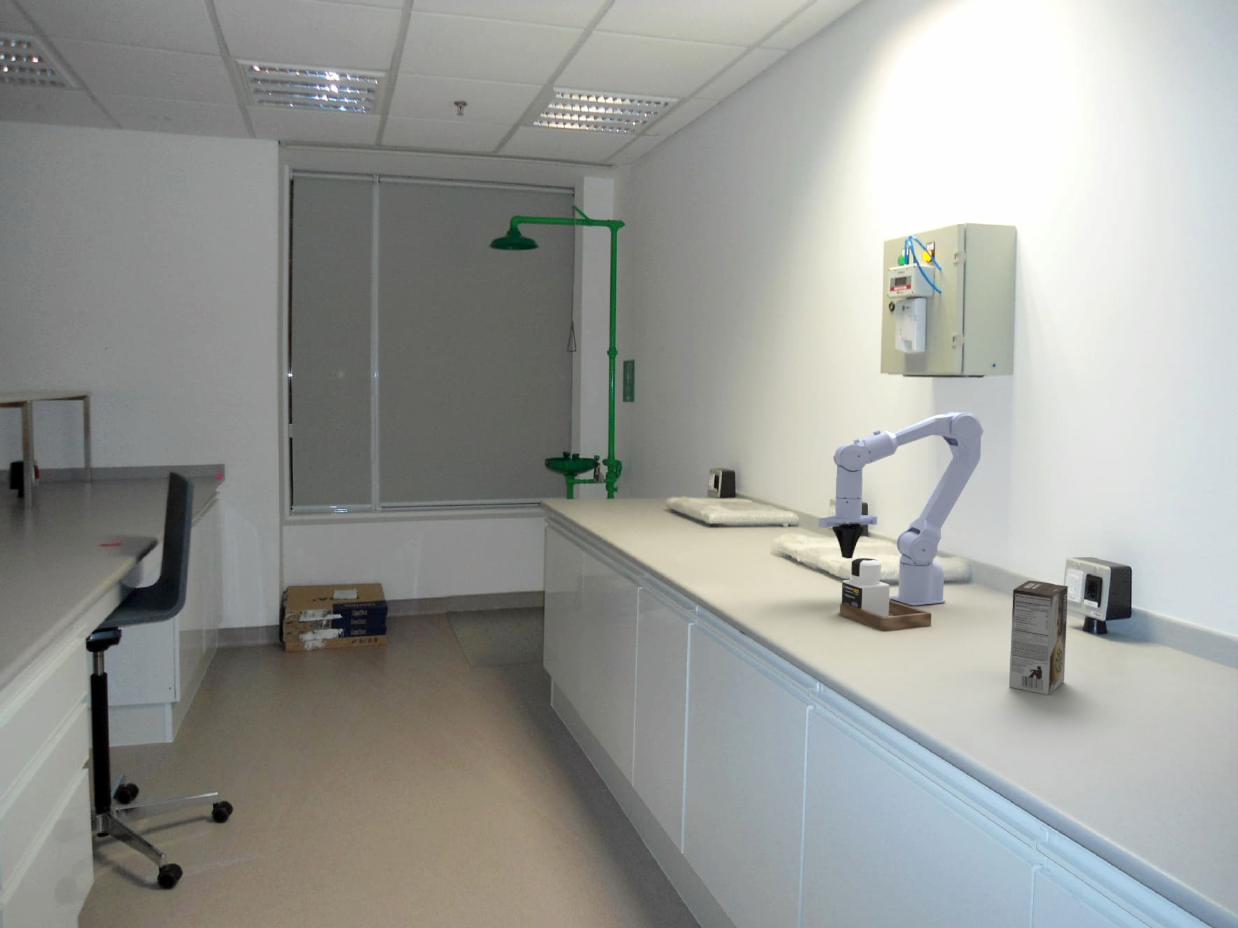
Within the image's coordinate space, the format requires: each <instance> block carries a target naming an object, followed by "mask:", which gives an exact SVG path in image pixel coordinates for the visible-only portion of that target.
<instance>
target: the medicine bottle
mask: <svg viewBox="0 0 1238 928" xmlns="http://www.w3.org/2000/svg"><path fill="white" fill-rule="evenodd" d="M850 568H851V570H850V571H851V572H850V574H851V575H850V578H851V579H844V580H842V581H841V583H842V584H841V603H845V604H848V605H851V606H854V607H857V608H860V609H863V610H866V611H869V612H872V613H874V614H877V615H880V616H883V617H889V616H890V615H889V614H890V613H889V600H890V589H891V587H890V584H888V583H885V582H883V581H880V580H881V579H882V576H881V575H882V563H881V561H879V560H877V559H875V558H866V557H859V558H856V559H853V560H852V561H851V567H850Z"/></svg>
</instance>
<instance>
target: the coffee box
mask: <svg viewBox="0 0 1238 928" xmlns="http://www.w3.org/2000/svg"><path fill="white" fill-rule="evenodd" d="M1068 588H1069V586H1068V585H1062V584H1055V583H1051V582H1045V581H1037V580H1027V581H1025V582H1023V583H1022V584H1020V585H1018V586H1017V587H1015V588H1013V590H1012V608H1011V609H1012V614H1011V632H1010V633H1011V635H1010V636H1011V637H1010V638H1011V639H1010V657H1009V683H1008V686H1009V688H1013V689H1018V690H1021V691H1027V692H1033V693H1037V694H1042V695H1047V696H1048V695H1051V694H1052V693H1053V692H1054V691H1055V690H1056V689H1057V688H1058V687H1059V686H1061V684H1063V682H1065V671H1066V670H1065V669H1066V666H1065V664H1066V642H1067V621H1068V620H1067V618H1068V617H1067V615H1068Z"/></svg>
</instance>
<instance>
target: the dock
mask: <svg viewBox="0 0 1238 928" xmlns="http://www.w3.org/2000/svg"><path fill="white" fill-rule="evenodd" d="M839 606H840V607H839V616H841V617H843V618H846V619H850V620H853V621H854V622H858V623H861V624H863V625H866V626H869V627H872V628H874V629H877V630H880V631H882V632H886V631H893V630H894V631H895V630H902V629H904V630H905V629H912V628H921V627H928V626H932V612H928V611H925V610H923V609H920V608H916V607H914V606H911V605H910V606H909V605H908V604H905V603H901V602H898V601H897V602H896V601H895V600H892V599H889V614H890V613H891V616H890V615H889V617H883V616H880V615H877V614H874V613H872V612H869V611H866V610H863V609H860V608H857V607H854V606H851V605H848V604H845V603H842V602H840V604H839ZM896 615H897V616H896Z"/></svg>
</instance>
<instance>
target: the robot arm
mask: <svg viewBox="0 0 1238 928" xmlns="http://www.w3.org/2000/svg"><path fill="white" fill-rule="evenodd" d="M872 433H873V434H872V435H869V436H866V437H863V438H861V439H860V438H855V439H853V444H851V443H844V444H842V445H839V446H838V448H837V449H836V450H835V453H834V455H833V462H834V464H835V465H836V477H835V481H836V482H835V513H834V515H833V516H826V517H819V518H818V527H819V528H824V529H826V528H832V531H833V533H834V535H835V537H836V539H837V542H838V545H839V548H840V549H839V550H840V553H841V558H844V559H853V556H854V553H855V549H856V547H857V544H858V541H859V539H860V538H861V536H862V535H863V533H864V532H865V529H864V525H865V526H866V525H873V526H875V525H876V526H877V525H878V516H876V515H873V514H872V515H871V514H870V515H867V514H866V515H863V514H862V511H863V510H862V507H863V506H862V505H863V469H864V467H865V466H866V465H869V464H872V463H874V462H877V461H880V460H882V459H884V458H887V457H890V456H892V455H894V454H896V451H897V449H898V447H902V446H903V445H906V444H909V443H912V442H916V441H918V440H921V439H924V438H927V437H930V436H937V437H938V436H939V437H942V438H943V440H944V441H946V443H947V444H948V446H949V448H950V452H951V454H952V459H951V460H950V462H949V464H948V465H947V467H946V469H945V471H944V473H943V474H942V476H941V478H940V480H939V481H938V484H937V485H936V487H935V489H934V490H933V492H932V494H931V495H930V497H929V499H928V500H927V503H926V504H925V506H924V508H923V509H922V512H921V514H920V515H919V517H917V518H916V519H915V520H913V521H912V522H911V523H910V525H909V526H908V527H907V529H906V530H904V531H903V532H901V533H900V535H899V536H898V537H897V541H896V547H897V550H898V552H899V553H900V554H901V556H900V558H899V567H898V568H899V569H898V571H899V573H898V595H892V596H890V595H889V600H892V601H897V602H899V603H902V604H905V605H908V606H909V605H910V606H912V607H914V606H915V607H916V606H923V605H924V606H925V605H932V604H940V603H941V604H943V603H946V599H944V587H945V586H944V581H945V573H944V570H943V567H942V565H941V564H940V563H939V562H937V561H934V559H935V558H936V556H937V554H938V547H939V546H938V545H939V543H940V541H941V539H942V527H943V526H944V524H945V521H947V518H949V517H948V516H949V515H950V514H951V511H952V509H953V508H954V506H955V505H956V503H957V501H958V500H959V497H960V496H961V494H962V492H963V491H964V489H965V487H966V485H967V484H968V482H969V480H970V478H971V476H972V475H973V473H974V471H975V469H976V467H977V466H978V464H979V462H980V460H981V452H982V451H981V450H982V449H981V445H982V444H981V443H982V437H983V436H982V435H983V434H984V429H983V427H982V425H981V423H980V419H979V418H978V417H977V416H976V415H975V414H973V413H972V412H966V411H965V412H956V411H948V412H945V413H943V414H942V413H941V414H936V415H933V416H930V417H928V418H925V419H922V420H921V421H918V422H916V423H914V424H911V425H909V426H907V427H903V428H901V429H899V430H898V431H897V430H896V431H895V432H889V431H887V430H880V429H877V430H874V431H873V432H872Z"/></svg>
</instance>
